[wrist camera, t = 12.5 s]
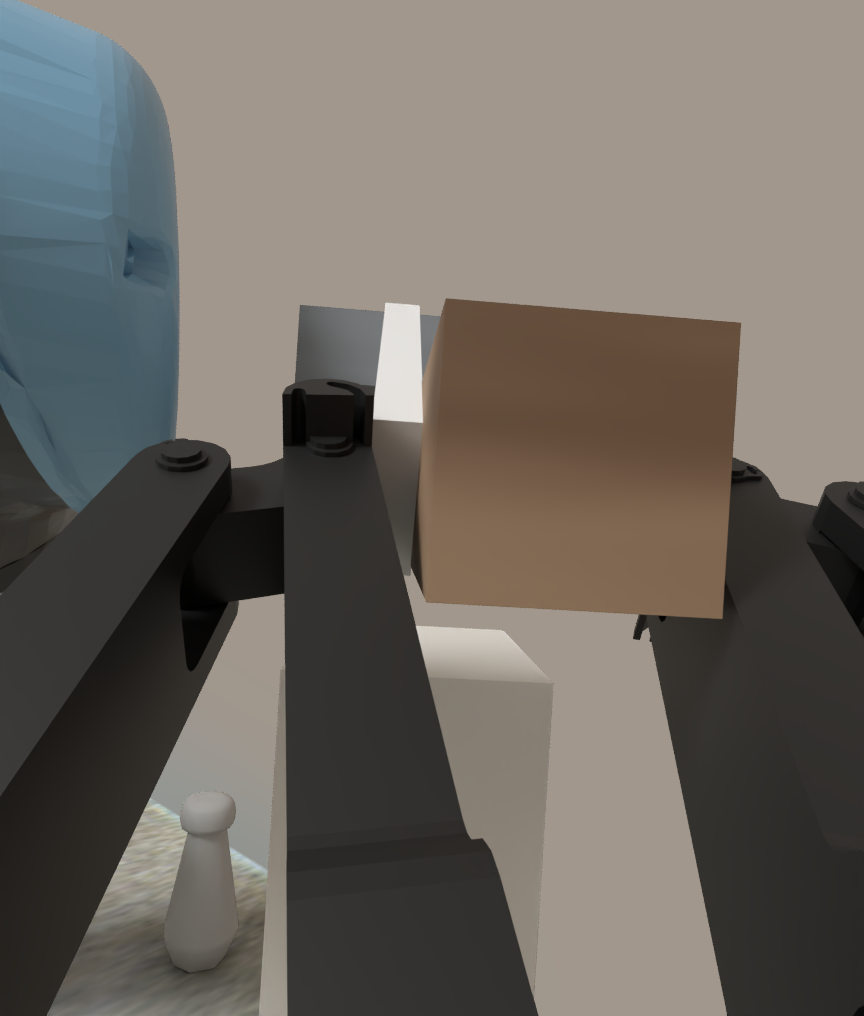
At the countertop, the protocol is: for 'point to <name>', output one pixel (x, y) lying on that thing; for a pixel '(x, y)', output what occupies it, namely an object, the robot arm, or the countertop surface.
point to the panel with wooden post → (560, 452)
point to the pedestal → (456, 779)
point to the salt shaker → (203, 886)
